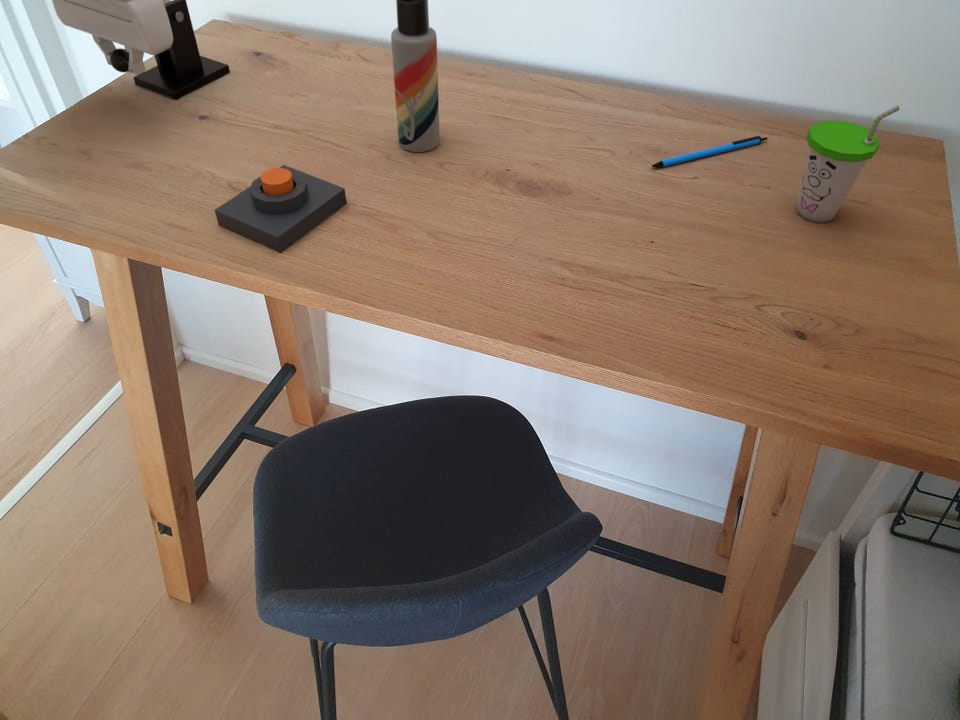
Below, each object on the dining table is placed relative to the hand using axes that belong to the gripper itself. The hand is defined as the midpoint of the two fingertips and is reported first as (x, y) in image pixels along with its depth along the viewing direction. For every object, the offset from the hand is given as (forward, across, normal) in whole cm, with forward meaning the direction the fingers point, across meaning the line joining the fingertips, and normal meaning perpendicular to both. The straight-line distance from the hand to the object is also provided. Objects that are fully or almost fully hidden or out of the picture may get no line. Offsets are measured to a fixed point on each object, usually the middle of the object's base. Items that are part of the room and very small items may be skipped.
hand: (127, 68), depth 110 cm
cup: (+6, +93, +26) cm, 97 cm away
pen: (+6, +77, +32) cm, 83 cm away
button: (+1, +38, -10) cm, 39 cm away
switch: (-2, 0, +5) cm, 5 cm away
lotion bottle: (+5, +42, +13) cm, 44 cm away
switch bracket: (+5, 0, +9) cm, 10 cm away
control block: (+5, +38, -10) cm, 40 cm away
